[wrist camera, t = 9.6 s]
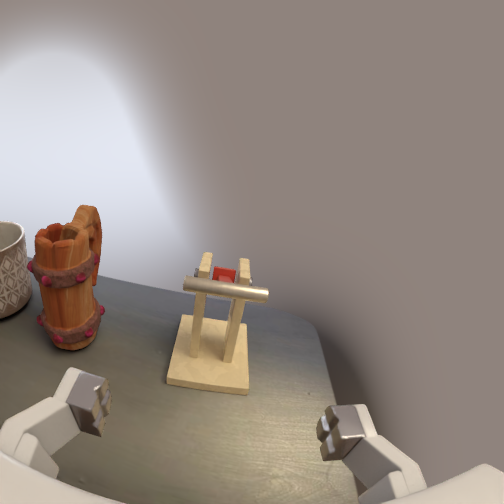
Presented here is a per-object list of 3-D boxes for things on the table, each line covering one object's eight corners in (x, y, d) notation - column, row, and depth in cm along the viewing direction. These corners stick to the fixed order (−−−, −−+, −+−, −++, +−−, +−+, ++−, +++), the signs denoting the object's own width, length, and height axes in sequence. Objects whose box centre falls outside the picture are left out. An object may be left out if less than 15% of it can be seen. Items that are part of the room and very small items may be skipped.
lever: (265, 313, 21) (271, 280, 21) (181, 300, 20) (186, 266, 20) (247, 293, 32) (251, 272, 32) (193, 284, 32) (197, 263, 32)
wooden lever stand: (247, 395, 30) (275, 303, 25) (166, 384, 29) (170, 286, 24) (244, 330, 41) (264, 248, 36) (182, 320, 40) (191, 236, 35)
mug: (90, 369, 27) (72, 247, 22) (34, 351, 26) (7, 235, 20) (123, 300, 41) (124, 203, 35) (76, 291, 40) (72, 196, 34)
